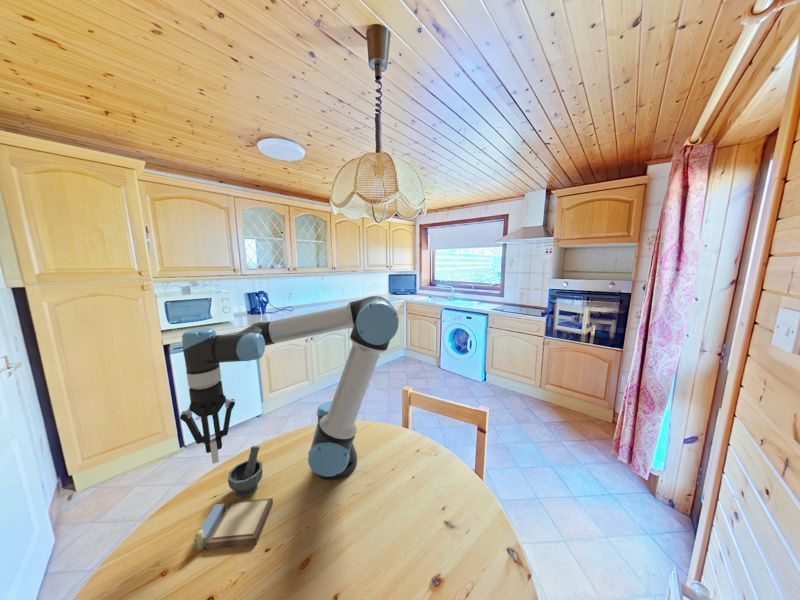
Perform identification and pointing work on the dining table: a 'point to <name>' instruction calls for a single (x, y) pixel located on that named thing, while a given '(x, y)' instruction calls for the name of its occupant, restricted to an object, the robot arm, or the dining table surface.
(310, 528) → the dining table surface
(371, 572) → the dining table surface
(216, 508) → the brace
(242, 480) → the mortar and pestle
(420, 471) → the dining table surface
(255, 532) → the stand
